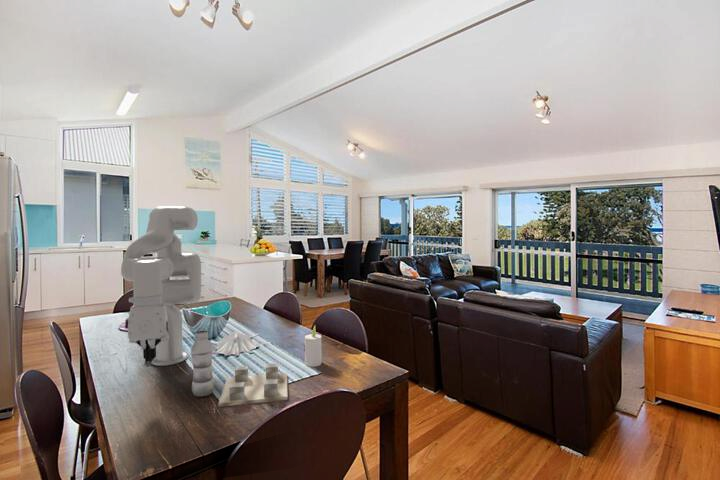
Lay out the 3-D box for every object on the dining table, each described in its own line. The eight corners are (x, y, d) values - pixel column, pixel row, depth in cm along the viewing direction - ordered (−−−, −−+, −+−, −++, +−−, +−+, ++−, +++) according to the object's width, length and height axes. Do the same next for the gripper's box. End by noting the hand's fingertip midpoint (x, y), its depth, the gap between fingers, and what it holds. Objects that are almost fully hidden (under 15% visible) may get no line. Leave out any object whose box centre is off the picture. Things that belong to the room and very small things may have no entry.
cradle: (218, 406, 107) (218, 390, 107) (227, 380, 124) (227, 366, 124) (287, 399, 111) (287, 383, 111) (286, 375, 129) (286, 361, 128)
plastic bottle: (206, 400, 111) (205, 336, 110) (186, 398, 112) (185, 334, 111) (218, 390, 117) (217, 329, 116) (200, 388, 118) (198, 328, 117)
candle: (304, 360, 142) (304, 322, 142) (321, 360, 143) (321, 322, 142) (303, 366, 136) (303, 327, 135) (321, 366, 137) (321, 327, 136)
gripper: (115, 304, 104) (117, 367, 105) (171, 302, 108) (172, 363, 108) (126, 299, 112) (127, 357, 113) (178, 297, 115) (179, 354, 116)
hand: (149, 360), depth 111 cm, fingers closed
